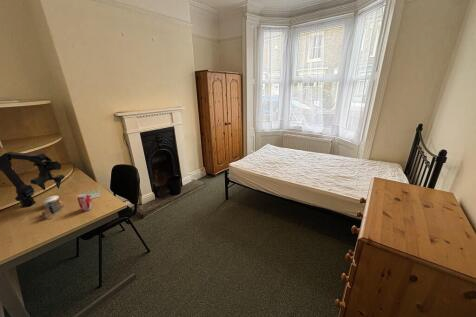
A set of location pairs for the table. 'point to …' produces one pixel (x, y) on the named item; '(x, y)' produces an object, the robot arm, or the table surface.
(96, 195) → the handheld gaming console
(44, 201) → the bobbin
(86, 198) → the soda can
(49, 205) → the gray rectangular block
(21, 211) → the table surface
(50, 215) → the notched board
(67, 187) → the table surface
